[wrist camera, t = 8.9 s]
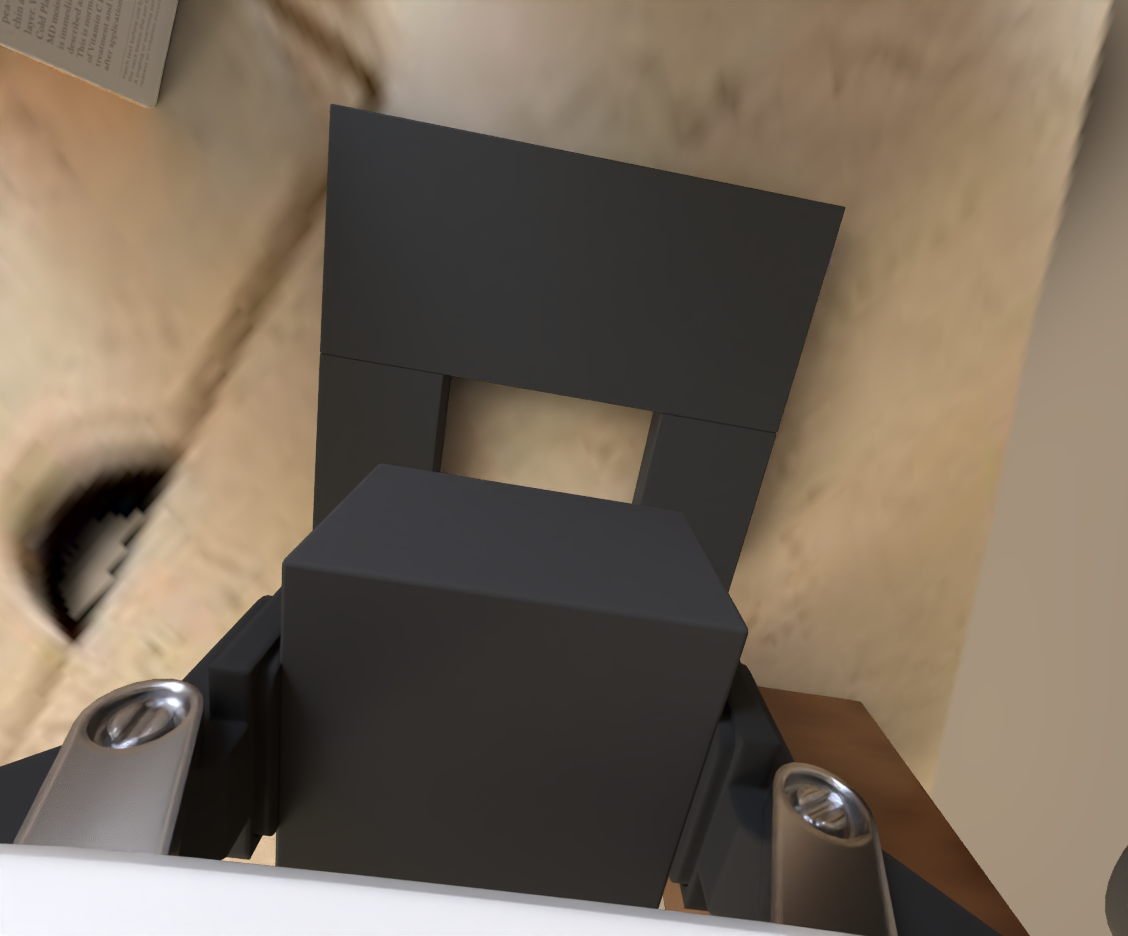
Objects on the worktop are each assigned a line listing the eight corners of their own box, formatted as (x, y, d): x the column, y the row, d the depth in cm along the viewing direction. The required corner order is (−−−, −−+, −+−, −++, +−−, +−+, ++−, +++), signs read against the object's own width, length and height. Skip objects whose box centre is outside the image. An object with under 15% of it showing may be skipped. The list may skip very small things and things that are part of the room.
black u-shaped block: (824, 213, 19) (846, 207, 17) (717, 576, 23) (728, 595, 22) (348, 117, 18) (329, 102, 16) (328, 514, 22) (312, 530, 21)
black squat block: (685, 510, 11) (752, 629, 7) (621, 748, 13) (649, 943, 9) (379, 461, 11) (278, 560, 7) (359, 713, 12) (272, 903, 9)
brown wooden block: (861, 701, 25) (1113, 1048, 14) (806, 832, 27) (981, 1221, 16) (688, 675, 25) (798, 1012, 13) (648, 811, 27) (711, 1196, 16)
